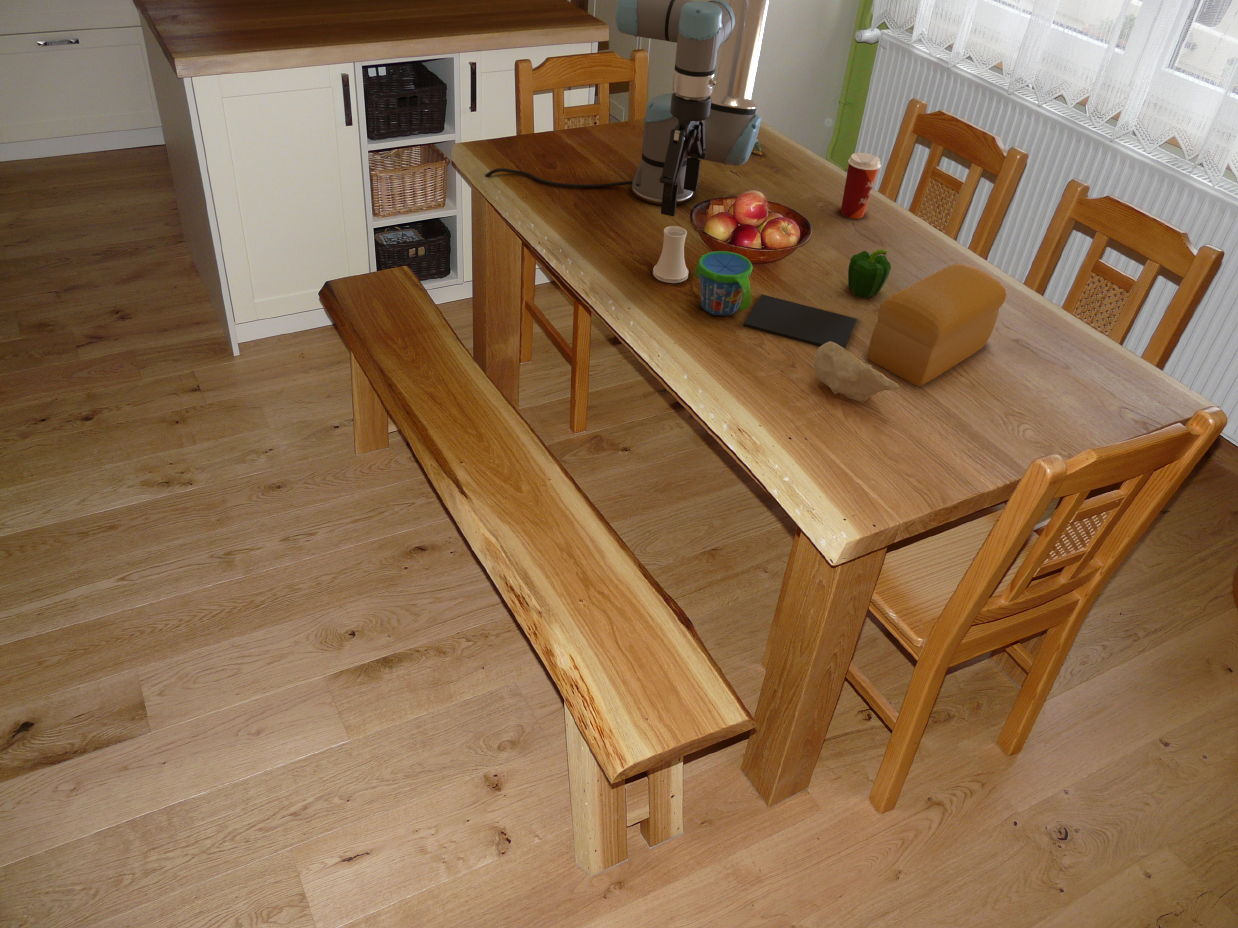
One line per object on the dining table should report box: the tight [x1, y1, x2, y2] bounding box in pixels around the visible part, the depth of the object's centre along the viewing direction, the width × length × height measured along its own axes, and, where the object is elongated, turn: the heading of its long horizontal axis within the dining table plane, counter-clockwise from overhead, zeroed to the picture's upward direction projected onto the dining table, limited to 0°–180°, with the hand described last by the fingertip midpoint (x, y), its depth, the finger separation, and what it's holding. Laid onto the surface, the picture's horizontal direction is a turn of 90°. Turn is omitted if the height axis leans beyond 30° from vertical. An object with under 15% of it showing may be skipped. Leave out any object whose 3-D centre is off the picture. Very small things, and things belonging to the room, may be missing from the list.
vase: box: [652, 225, 690, 284], centre depth 195 cm, size 8×8×10 cm
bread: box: [867, 263, 1007, 387], centre depth 176 cm, size 24×13×15 cm, turn 133°
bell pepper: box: [847, 249, 892, 299], centre depth 194 cm, size 8×8×10 cm
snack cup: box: [694, 250, 754, 317], centre depth 185 cm, size 16×10×10 cm
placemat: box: [743, 294, 857, 349], centre depth 186 cm, size 20×13×1 cm, turn 68°
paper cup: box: [840, 152, 882, 220], centre depth 223 cm, size 8×8×14 cm
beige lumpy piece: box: [813, 341, 900, 403], centre depth 167 cm, size 15×7×15 cm
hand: (679, 202), depth 187 cm, fingers open, 13 cm apart
